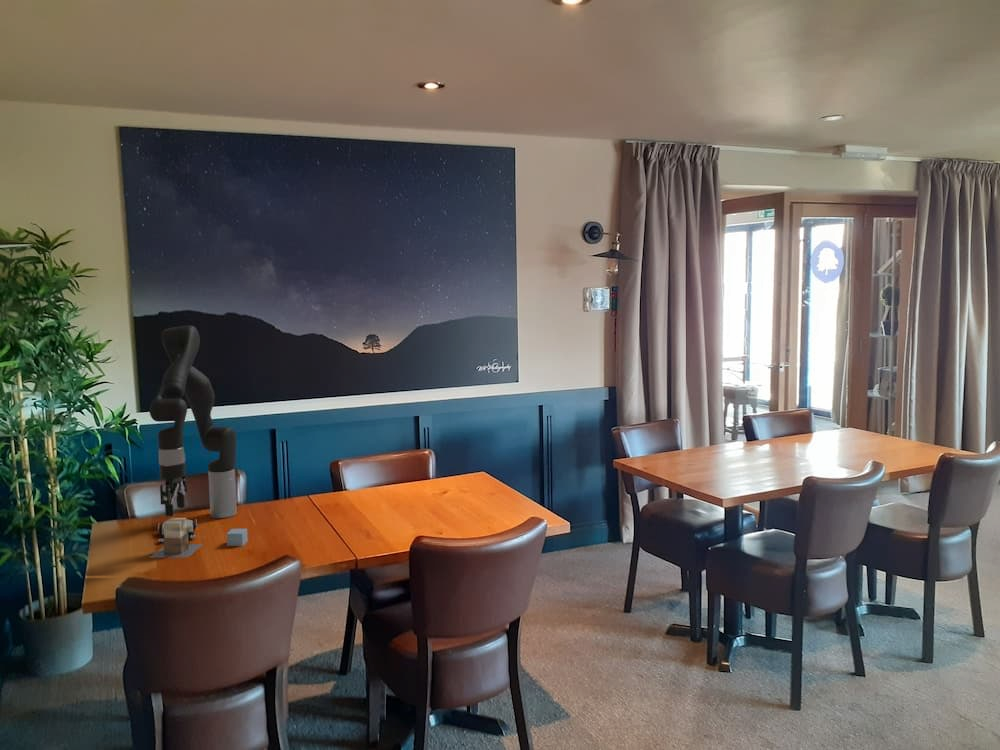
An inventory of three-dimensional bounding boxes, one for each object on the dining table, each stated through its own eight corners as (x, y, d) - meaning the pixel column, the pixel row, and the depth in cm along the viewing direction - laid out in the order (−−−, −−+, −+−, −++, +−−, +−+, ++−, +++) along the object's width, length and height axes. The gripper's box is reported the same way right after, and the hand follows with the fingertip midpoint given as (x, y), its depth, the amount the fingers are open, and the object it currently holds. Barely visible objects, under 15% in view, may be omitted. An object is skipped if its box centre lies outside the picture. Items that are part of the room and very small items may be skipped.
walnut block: (171, 547, 240) (170, 532, 240) (188, 547, 240) (187, 532, 240) (164, 553, 235) (163, 538, 234) (181, 553, 235) (180, 538, 234)
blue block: (232, 543, 247) (232, 528, 246) (247, 543, 247) (247, 528, 246) (227, 548, 242) (226, 533, 241) (242, 548, 242) (242, 533, 242)
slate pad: (166, 546, 244) (166, 544, 243) (202, 546, 244) (202, 544, 243) (149, 560, 232) (148, 557, 231) (187, 559, 232) (187, 557, 232)
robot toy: (197, 545, 248) (197, 528, 262) (196, 532, 247) (196, 516, 261) (157, 550, 244) (159, 533, 257) (156, 537, 243) (158, 520, 256)
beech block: (171, 533, 239) (170, 517, 239) (186, 532, 239) (186, 517, 239) (164, 538, 234) (163, 522, 234) (180, 538, 234) (179, 522, 234)
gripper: (169, 456, 241) (173, 505, 243) (149, 467, 227) (153, 519, 229) (193, 456, 241) (196, 504, 243) (174, 467, 227) (178, 518, 229)
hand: (175, 511), depth 236 cm, fingers open, 8 cm apart
